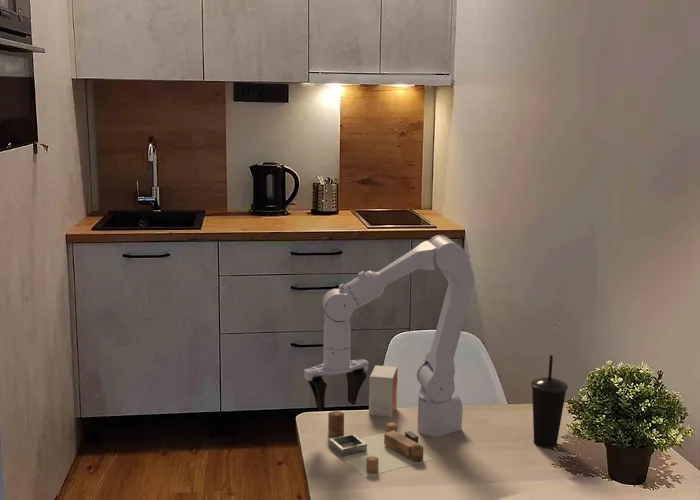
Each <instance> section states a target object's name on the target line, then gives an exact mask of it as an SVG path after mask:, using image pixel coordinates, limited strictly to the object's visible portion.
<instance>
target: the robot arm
mask: <svg viewBox="0 0 700 500" xmlns="http://www.w3.org/2000/svg"><path fill="white" fill-rule="evenodd" d="M435 266H436V267H437V268H439V270H440V271H441V272H442V274H443V276H444V277H445V279H446V280H447V281H448V284H447V289H446V292H445V296H444V300H443V303H442V306H441V309H440V310H441V311H440V315H439V318H438V322H437V326H436V330H435V333H434V336H433V337H434V338H433V341H432V345H431V348H430V351H428V352H427V353H426V354H425V357H424V360H423V362H422V364H420V365H419V366H418V369H417V371H416V379H417V382H418V383H419V385H420V389H419V391H418V396H417V397H418V401H417V427H416V428H417V432H418V433H420V434H422V435H425V436H428V437H435V438H437V437H443V436H447V435H449V434H451V433H454V432H455V433H456V432H458V431H461V430H462V429H463V427H462V425H463V403H462V400H461V398H460V397H459V395H458V394H457V393H455V390H456V385H455V381H454V379H455V373H456V368H455V360H454V359H455V355H456V352H457V348H458V344H459V341H460V336H461V332H462V329H463V326H464V322H465V318H466V315H467V310H468V308H469V304H470V299H471V296H472V292H473V288H474V285H475V278H474V273H473V271H472V267H471V263H470V255H468V252H466V251H465V249H464V248H463V247H462V246H461V245H460V244H458V243H456V242H454V241H452V239H451V238H449V237H448V236H446V235H443V234H441V235H440V234H439V235H438V234H437V235H435V236H432V237H431V238H430V239H429V240H424V241H423V242H420V243H419V244H418V245H417V246H415V247H413V249H411V250H410V251H408V252H407V253H405V254H403V255H402V256H400V257H398V258H397V259H395V260H393V262H391V263H389V264H387V265H386V266H385V267H383V268H381V269H380V270H378V271H372V270H367V271H364V270H362V271H360V272H358V273H357V275H358V276H357V277H355V278H353V279H352V280H350V281H348V282H347V283H345V284H343V283H340V284H339V285H338V288H332V289H329V290H328V291H327V292H326V293H325V294H324V296H323V299H322V300H321V306H322V308H323V310H324V311H325V312H324V318H323V322H324V323H323V353H322V354H323V362H322V363H321V364H317V365H316V366H313V367H309V368H305V369H304V370H303V371H304V372H303V379H305V380H306V381H307V382H308V385H309V386H310V388H311V391H312V393H313V396H314V401H315V405H316V406H315V407H316V408H317V410H319V411H320V412H323V411H325V405H326V404H325V395H326V391H327V385H328V383H326V382H325V381H324V378H325V377H331V376H337V375H340V374H343V375H344V374H345V375H346V380H347V382H346V383H347V402H348V403H350V404H351V405H352V406H354V405H356V402H357V399H358V395H359V392H360V389H361V387H362V385H363V383H364V382H365V381H366V379H367V373H366V371H369V361H368V360H366V359H364V358H363V359H353V360H352V359H351V333H352V331H351V330H352V329H351V326H352V325H351V317H352V315H353V313H354V310H357V309H359V308H361V307H363V306H365V305H366V304H368V303H369V302H371V301H373V300H375V299H377V298H378V297H380V296H382V295H383V294H384V290H385V288H386V287H387V286H388V285H389V284H392V283H393V282H396V281H397V280H399V279H401V278H403V277H404V276H407V275H408V274H410V273H413V272H415V271H417V270H419V269H420V270H422V269H423V270H429V271H435V270H436V267H435Z"/></svg>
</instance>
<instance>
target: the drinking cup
mask: <svg viewBox="0 0 700 500" xmlns="http://www.w3.org/2000/svg"><path fill="white" fill-rule="evenodd" d="M553 357H554V355H551V354H550V355H549V358H548V359H549V361H548V363H549V364H548V374H547V375H548V376H543V377H539V378H534V379H532V380H531V382H530V386H531V388H532V389H531V390H532V391H531V392H532V395H531V396H532V419H533V420H532V423H533V425H532V426H533V443H534V445H535V446H537V447H539V448H542V449H553V448H556V447H557V445H558V444H557V443H558V438H559V434H560V428H561V427H560V426H561V421H562V416H563V410H564V404H565V398H566V393H567V390H568V389H569V385H568V384H567V383H566V382H565V381H563V380H560V379H559V378H556V377H553V375H552V373H553V363H554V361H553V359H554V358H553Z"/></svg>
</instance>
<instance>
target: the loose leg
mask: <svg viewBox="0 0 700 500" xmlns="http://www.w3.org/2000/svg"><path fill="white" fill-rule="evenodd" d="M327 419H328V420H327V423H328V426H327V427H328V430H327V435H328V437H329V438H330V439H331V438H335V437H339V436H344V435H345V413H344V412H343V411H341V410H340V411H339V410H334V411H333V410H332V411H330V412H328V417H327Z"/></svg>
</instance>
